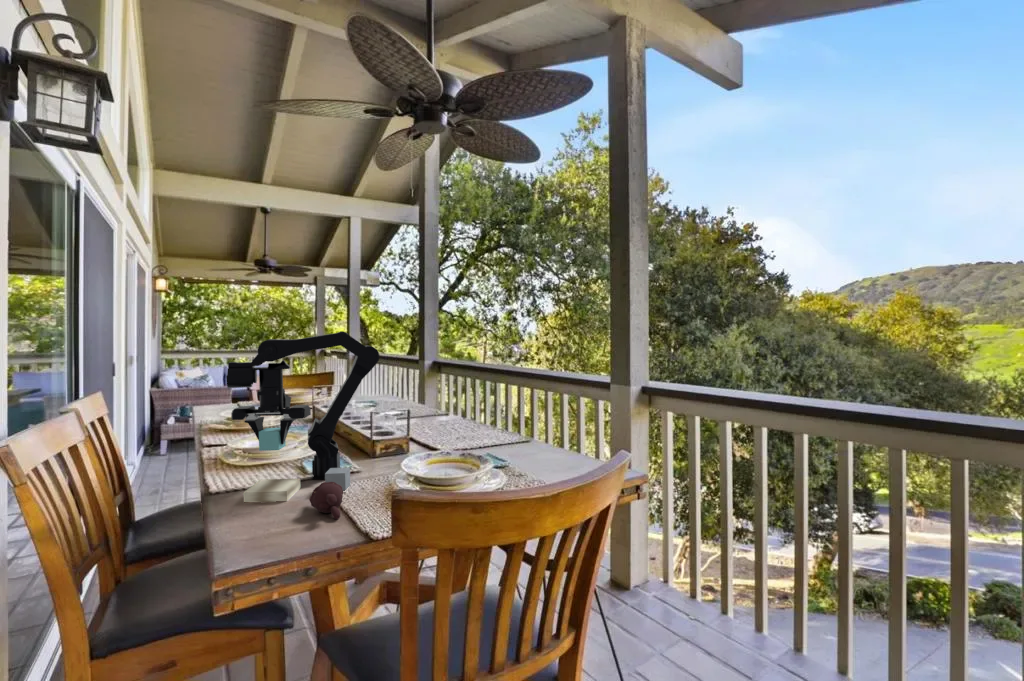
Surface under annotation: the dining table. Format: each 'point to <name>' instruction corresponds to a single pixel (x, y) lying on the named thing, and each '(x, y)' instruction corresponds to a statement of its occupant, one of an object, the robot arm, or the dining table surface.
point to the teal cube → (270, 439)
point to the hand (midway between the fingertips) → (272, 444)
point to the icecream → (327, 498)
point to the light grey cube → (339, 476)
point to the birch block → (272, 490)
